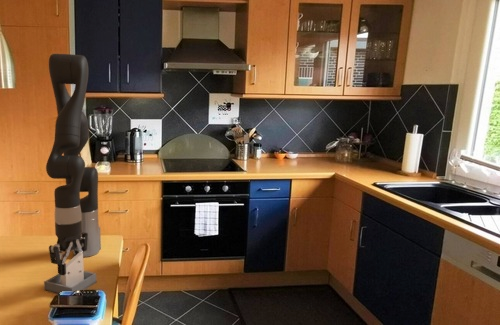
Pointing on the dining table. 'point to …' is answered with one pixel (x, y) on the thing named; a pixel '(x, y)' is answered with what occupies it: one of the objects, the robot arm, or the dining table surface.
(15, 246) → the dining table surface
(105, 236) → the dining table surface
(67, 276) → the white angled block
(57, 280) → the gray square tray
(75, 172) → the robot arm
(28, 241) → the dining table surface
